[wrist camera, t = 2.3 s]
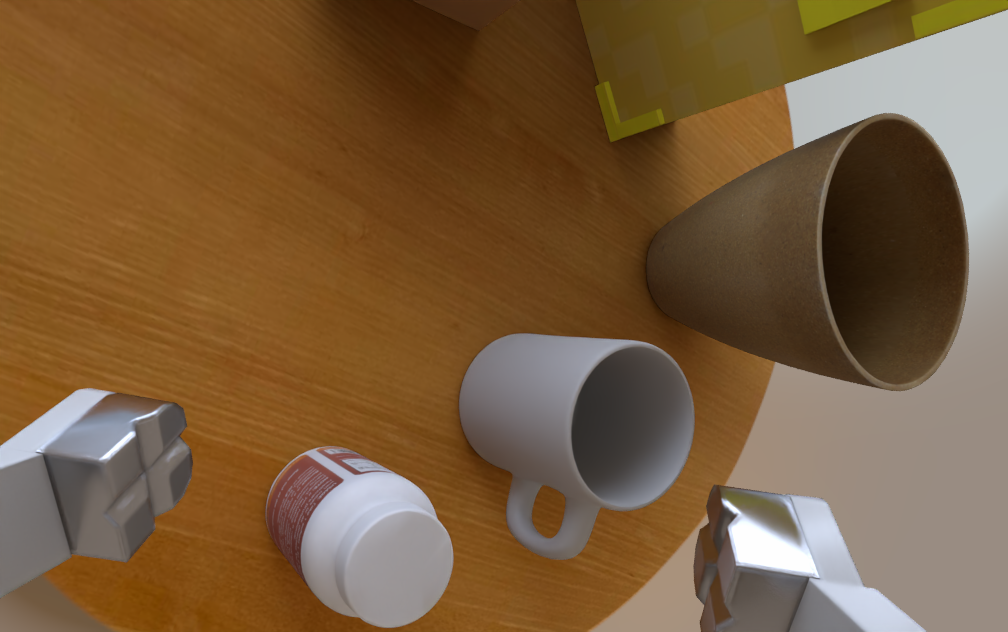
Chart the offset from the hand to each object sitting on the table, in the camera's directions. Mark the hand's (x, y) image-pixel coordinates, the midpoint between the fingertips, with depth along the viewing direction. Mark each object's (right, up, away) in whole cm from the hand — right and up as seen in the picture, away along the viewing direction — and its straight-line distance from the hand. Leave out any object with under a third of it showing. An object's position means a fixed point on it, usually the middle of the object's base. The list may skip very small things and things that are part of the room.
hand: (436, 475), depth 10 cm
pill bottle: (-9, -7, +26) cm, 28 cm away
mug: (+1, -5, +32) cm, 32 cm away
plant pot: (+14, +6, +40) cm, 42 cm away
